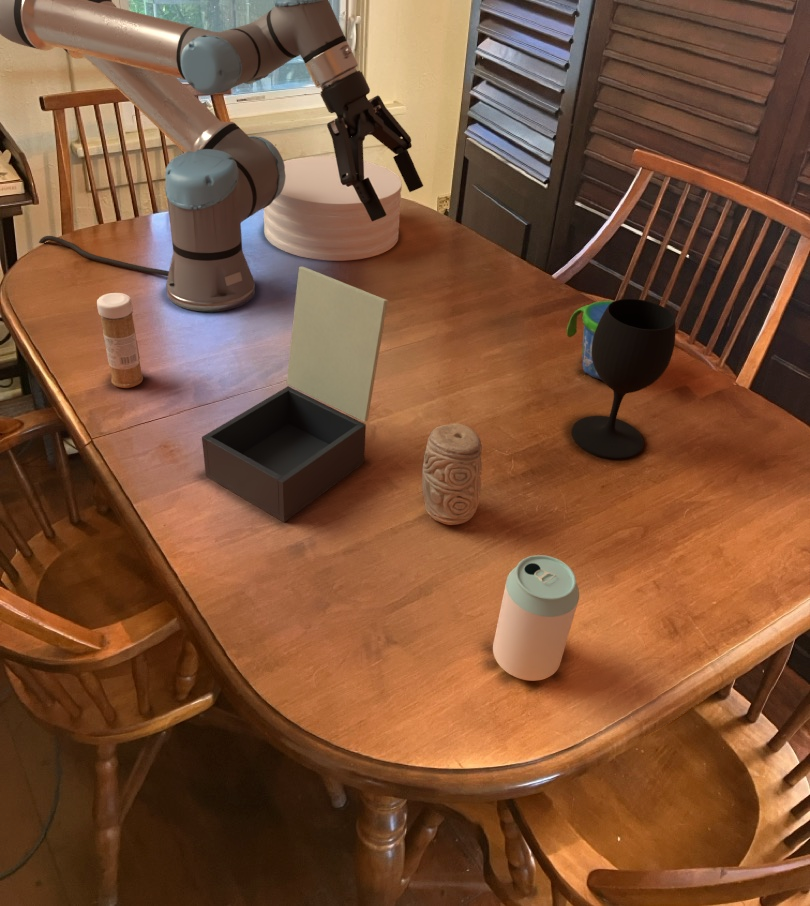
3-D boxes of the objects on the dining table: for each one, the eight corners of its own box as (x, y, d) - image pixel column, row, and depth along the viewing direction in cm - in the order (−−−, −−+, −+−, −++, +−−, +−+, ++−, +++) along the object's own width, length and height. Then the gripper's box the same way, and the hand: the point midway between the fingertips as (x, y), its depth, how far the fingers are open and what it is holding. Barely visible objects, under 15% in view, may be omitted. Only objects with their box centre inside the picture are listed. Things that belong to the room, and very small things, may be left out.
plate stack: (368, 271, 155) (370, 213, 148) (239, 243, 161) (236, 186, 155) (416, 223, 176) (420, 171, 169) (301, 200, 183) (300, 148, 176)
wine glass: (601, 467, 110) (636, 339, 98) (556, 426, 117) (584, 302, 105) (658, 450, 114) (699, 325, 102) (612, 411, 121) (645, 290, 109)
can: (489, 677, 81) (506, 596, 74) (494, 625, 86) (511, 544, 79) (559, 690, 80) (583, 609, 73) (560, 636, 86) (582, 556, 78)
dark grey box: (284, 522, 97) (283, 482, 93) (205, 476, 103) (201, 436, 99) (364, 462, 107) (366, 424, 104) (288, 423, 113) (287, 386, 109)
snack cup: (546, 359, 133) (558, 303, 126) (588, 342, 138) (600, 288, 132) (621, 403, 123) (637, 345, 117) (662, 383, 129) (679, 327, 123)
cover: (384, 301, 95) (388, 300, 96) (298, 266, 101) (302, 266, 102) (364, 422, 103) (367, 421, 104) (286, 384, 109) (289, 382, 109)
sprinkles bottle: (141, 371, 121) (129, 290, 113) (144, 387, 118) (132, 304, 110) (110, 375, 120) (95, 293, 112) (112, 391, 117) (97, 307, 108)
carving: (433, 488, 104) (442, 412, 97) (485, 510, 101) (498, 433, 94) (408, 515, 99) (416, 437, 92) (462, 539, 97) (474, 461, 89)
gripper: (313, 90, 117) (379, 224, 125) (393, 50, 134) (447, 170, 142) (279, 110, 122) (345, 238, 130) (360, 69, 139) (414, 185, 147)
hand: (398, 203), depth 136 cm, fingers open, 13 cm apart
